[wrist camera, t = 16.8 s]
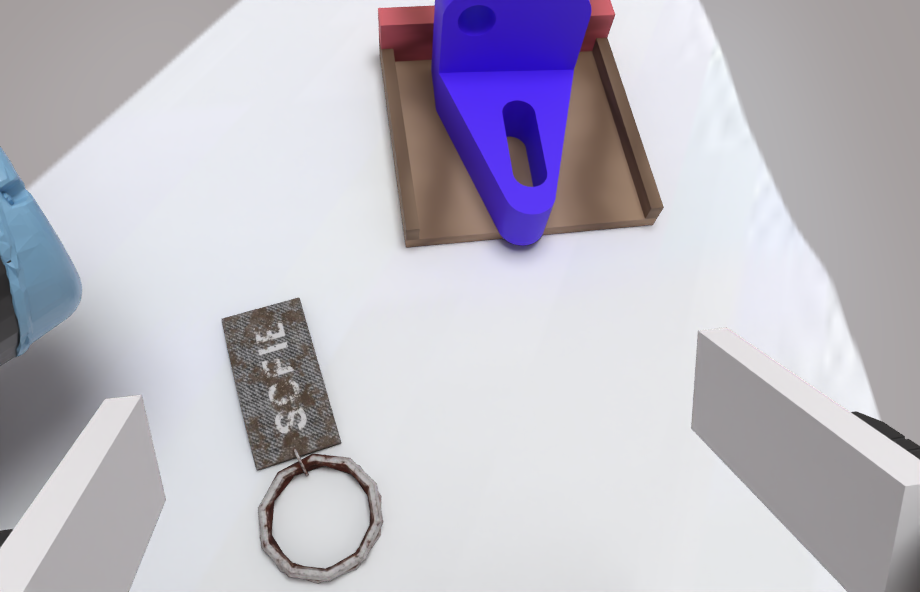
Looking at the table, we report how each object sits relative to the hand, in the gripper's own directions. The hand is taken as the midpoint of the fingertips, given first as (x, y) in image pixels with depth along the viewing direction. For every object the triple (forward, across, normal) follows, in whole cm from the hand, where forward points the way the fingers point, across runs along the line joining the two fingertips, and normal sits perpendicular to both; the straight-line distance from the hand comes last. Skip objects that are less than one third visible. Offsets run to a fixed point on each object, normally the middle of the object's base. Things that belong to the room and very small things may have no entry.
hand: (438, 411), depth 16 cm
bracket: (+41, +11, 0) cm, 43 cm away
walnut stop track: (+43, +12, +1) cm, 45 cm away
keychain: (+27, -7, -16) cm, 32 cm away
